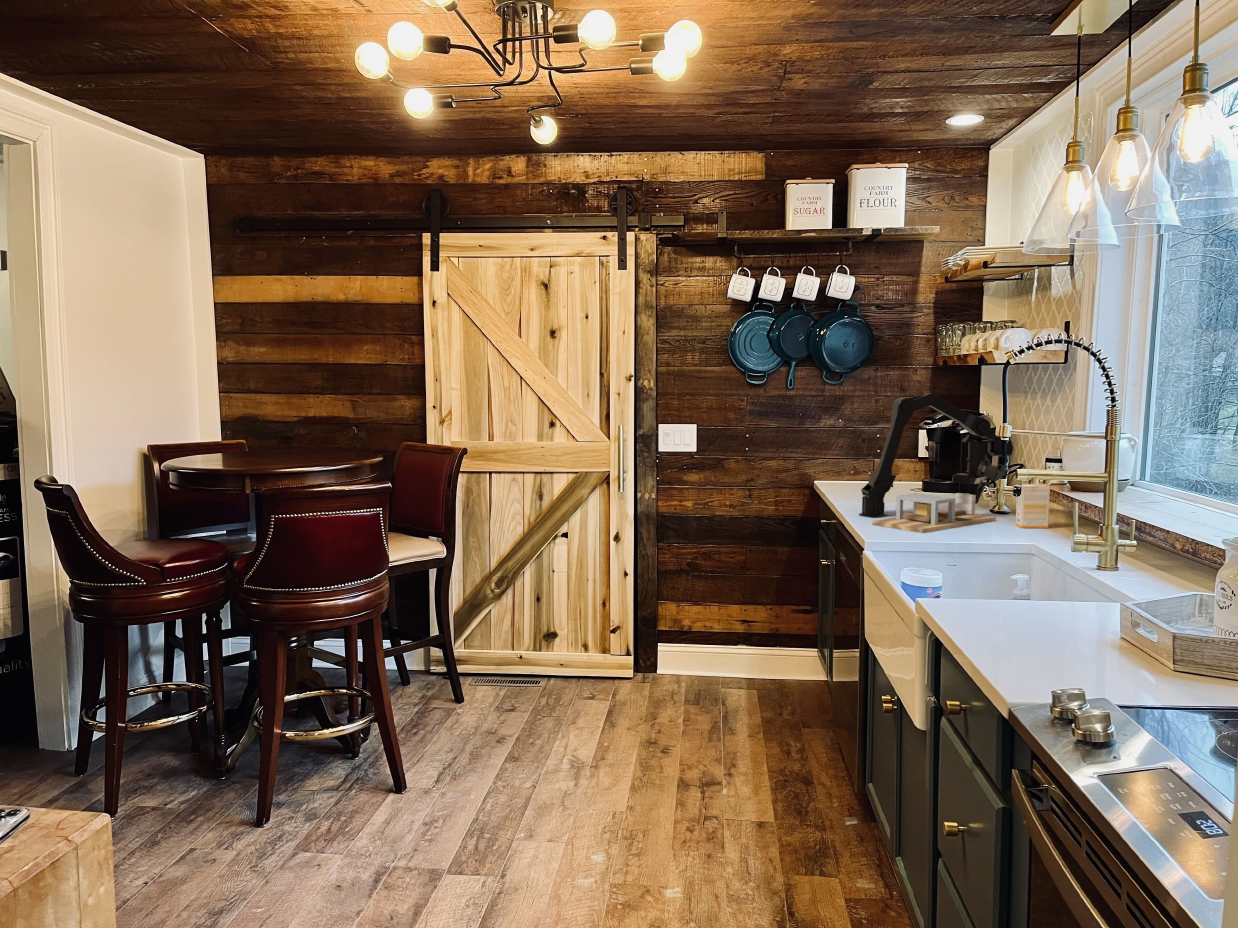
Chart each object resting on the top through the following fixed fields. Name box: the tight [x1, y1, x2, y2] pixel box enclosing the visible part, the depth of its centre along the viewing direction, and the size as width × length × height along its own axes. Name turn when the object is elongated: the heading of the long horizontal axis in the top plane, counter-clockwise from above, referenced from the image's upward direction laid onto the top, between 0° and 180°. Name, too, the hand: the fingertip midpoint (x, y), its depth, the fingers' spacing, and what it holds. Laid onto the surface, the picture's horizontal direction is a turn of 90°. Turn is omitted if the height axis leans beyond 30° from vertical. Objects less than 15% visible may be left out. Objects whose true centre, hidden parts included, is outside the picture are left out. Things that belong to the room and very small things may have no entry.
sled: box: [903, 492, 976, 522], centre depth 274 cm, size 9×26×6 cm, turn 125°
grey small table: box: [895, 493, 955, 525], centre depth 269 cm, size 14×10×8 cm
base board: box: [871, 509, 997, 534], centre depth 272 cm, size 18×38×1 cm, turn 125°
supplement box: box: [1015, 483, 1051, 529], centre depth 264 cm, size 8×5×13 cm, turn 84°
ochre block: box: [916, 502, 932, 517], centre depth 269 cm, size 4×4×4 cm
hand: (975, 503), depth 285 cm, fingers closed
